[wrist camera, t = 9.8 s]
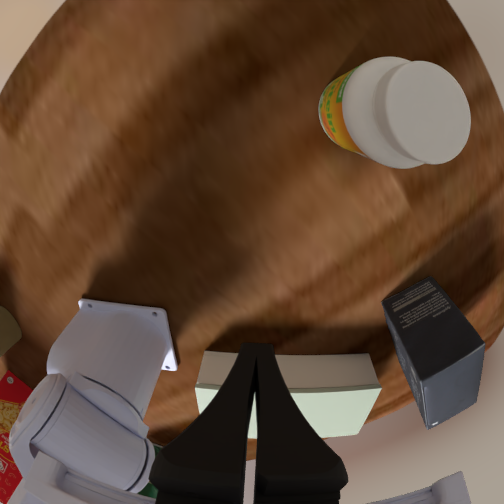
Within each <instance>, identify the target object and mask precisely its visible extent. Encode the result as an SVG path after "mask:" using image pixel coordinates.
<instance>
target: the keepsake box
mask: <svg viewBox="0 0 504 504" xmlns="http://www.w3.org/2000/svg"><path fill="white" fill-rule="evenodd" d="M237 356H238V353H226V352H213V351H204V355H203V359H202V363H201V367H200V371H199V376H198V380H197V383H198V384H207V385H217V386H222V384H223V383H224V381H225V380H226V378H227V376H228V374H229V372H230V370H231V368H232V367H233V365H234V362H235V360H236V358H237ZM275 357H276V360H277V363H278V366H279V369H280V372H281V374H282V376H283V379H284V381H285V383H286V386H287V388H288V389H315V388H339V387H354V386H366V385H376V384H379V382H378V379H377V376H376V373H375V370H374V367H373V364H372V361H371V358H370V355H369V353H364V354H343V355H275Z"/></svg>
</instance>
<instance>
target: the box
mask: <svg viewBox="0 0 504 504" xmlns="http://www.w3.org/2000/svg"><path fill="white" fill-rule="evenodd" d="M381 303H382V306H383V309H384V312H385V314H384V315H385V317H386V323H387V324H388V328H389V330H390V334H391V336H392V340H393V343H394V346H395V349H396V354H397V356H398V360H399V363H400V365H401V367H402V369H403V372H404V374H405V377H406V379H407V381H408V384H409V386H410V388H411V391H412V393H413V396H414V398H415V400H416V402H417V405H418V408H419V410H420V413H421V416H422V418H423V420H424V423H425V426H426V428H427V429H431V428H433V427H435V426H437V425H439V424H440V423H442V422H444V421H446V420H448V419H449V418H451V417H453V416H455V415H456V414H458V413H460V412H461V411H463V410H465V409H467V408H468V407H470V406H471V405H473V404H474V403H476V401H477V396H478V391H479V385H480V380H481V373H482V367H483V360H484V351H485V342H484V341H483V340H482V339H481V337H480V336H479V334H478V333H477V332H476V330H475V329H474V328H473V326H472V325H471V324H470V322H469V321H468V320H467V319H466V317H465V316H464V315H463V313H462V312H461V311H460V310H459V308H458V307H457V306H456V305H455V304H454V302H453V301H452V300H451V299H450V297H449V296H448V295H447V294H446V292H445V291H444V290H443V289H442V288H441V286H440V285H439V284H438V283H437V282H436V281H435V279H434V278H433V277H432V276H430V277H428V278H426V279H424V280H422V281H420V282H417V283H416V284H414V285H412V286H411V287H409V288H407V289H405V290H404V291H402V292H400V293H398V294H396V295H394V296H391V297H390V298H387V299H385V300H383V301H382V302H381Z"/></svg>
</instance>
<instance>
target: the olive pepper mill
mask: <svg viewBox="0 0 504 504" xmlns="http://www.w3.org/2000/svg"><path fill="white" fill-rule="evenodd" d="M21 338H22V333H21V329H20V327H19V325H18V323H17V322H16V320H15V319H14V317H13V316H12V315H11V314H10V313H9V312H8V311H7V310H6V309H5V308H4V307H2V306H0V357H1V356H2V355H3V354H4V353H5V352H6V351H7V350H9V349H10V348H11V347H12V346H13V345H14V344H15V343H16V342H17V341H19V340H20V339H21Z"/></svg>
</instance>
